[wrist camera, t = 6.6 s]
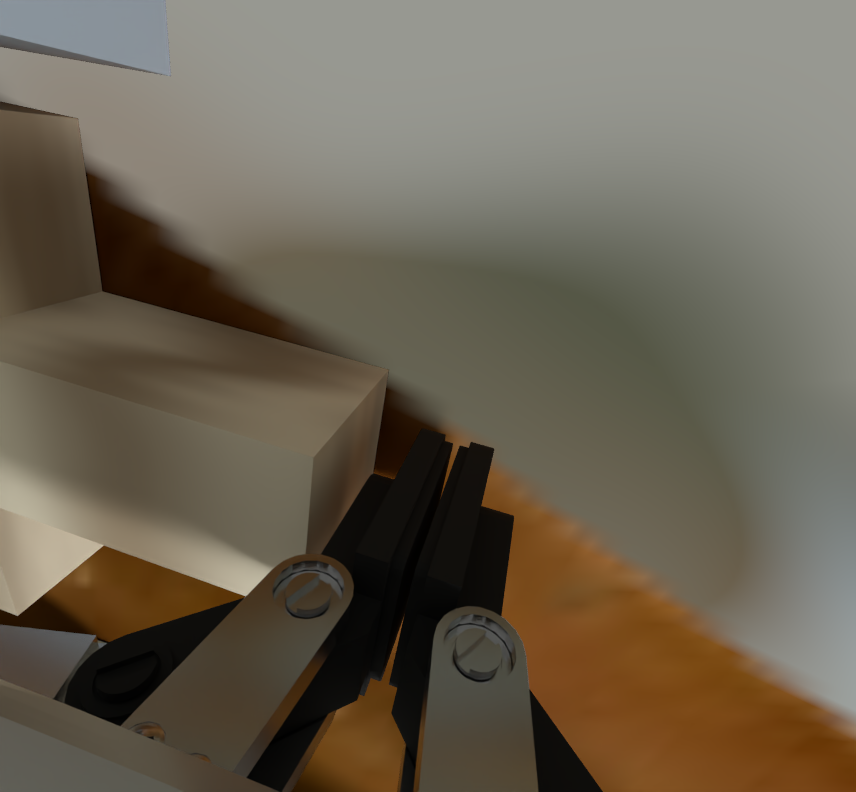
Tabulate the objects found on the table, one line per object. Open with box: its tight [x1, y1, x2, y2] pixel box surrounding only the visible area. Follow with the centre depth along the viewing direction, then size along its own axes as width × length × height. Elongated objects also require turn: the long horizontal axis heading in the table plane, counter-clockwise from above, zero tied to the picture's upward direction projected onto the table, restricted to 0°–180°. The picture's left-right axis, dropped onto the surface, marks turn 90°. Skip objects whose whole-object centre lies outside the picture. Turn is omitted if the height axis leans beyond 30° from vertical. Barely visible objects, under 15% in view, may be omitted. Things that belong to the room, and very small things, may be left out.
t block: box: [0, 102, 389, 616], centre depth 11 cm, size 12×12×4 cm
